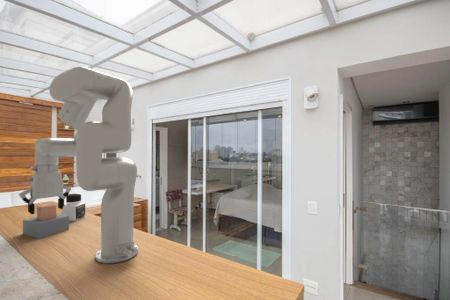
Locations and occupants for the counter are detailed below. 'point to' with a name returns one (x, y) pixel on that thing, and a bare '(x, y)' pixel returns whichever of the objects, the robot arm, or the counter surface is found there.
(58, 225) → the grey block
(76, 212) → the medicine bottle
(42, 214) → the terracotta cube
